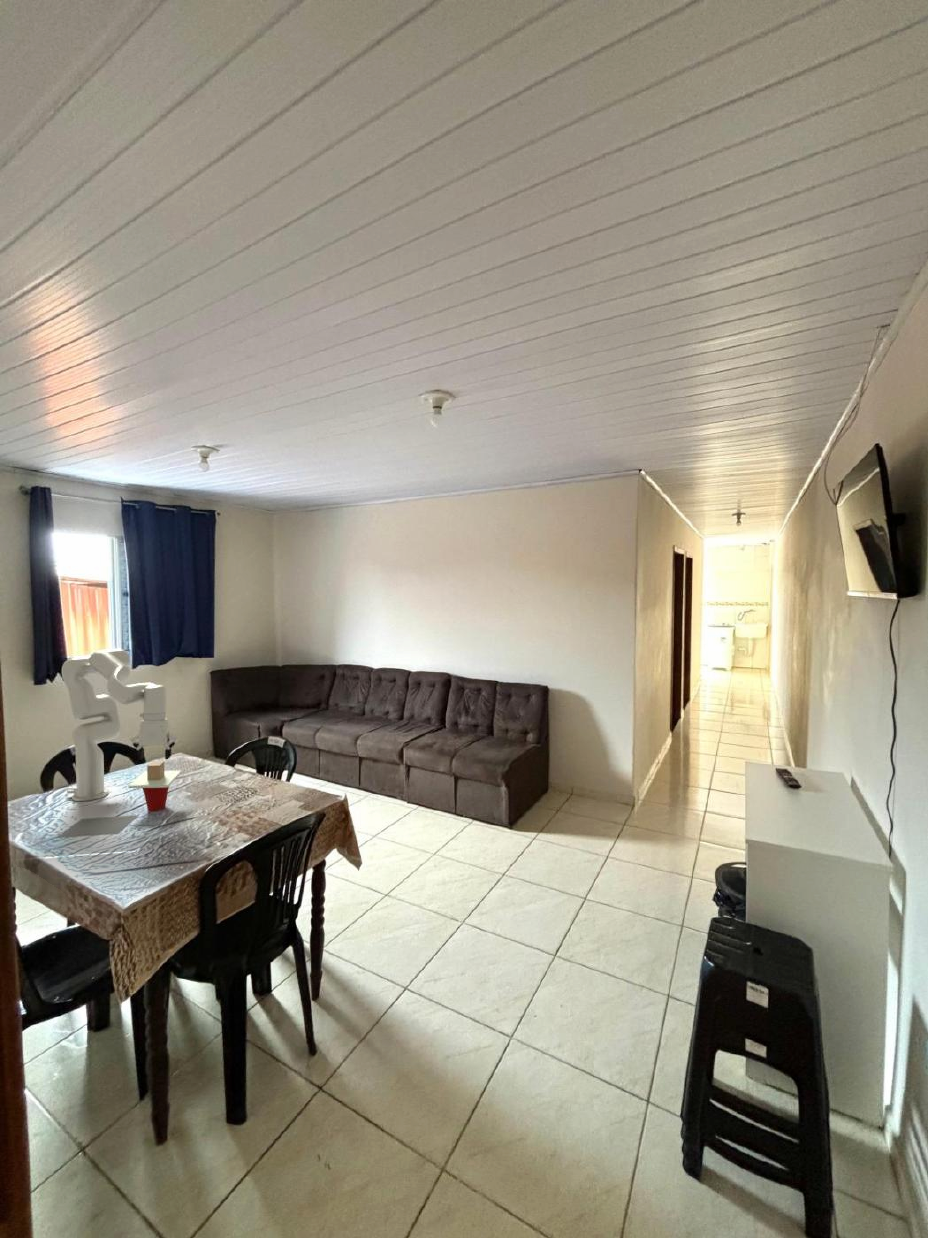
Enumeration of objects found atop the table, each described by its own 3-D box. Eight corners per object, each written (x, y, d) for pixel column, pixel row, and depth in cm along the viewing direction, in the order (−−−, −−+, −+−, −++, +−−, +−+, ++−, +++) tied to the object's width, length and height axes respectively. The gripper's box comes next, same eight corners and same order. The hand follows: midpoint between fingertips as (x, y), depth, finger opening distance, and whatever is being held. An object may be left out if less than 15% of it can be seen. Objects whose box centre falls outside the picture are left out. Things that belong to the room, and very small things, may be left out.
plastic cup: (141, 817, 198) (141, 787, 197) (140, 808, 207) (139, 779, 206) (173, 811, 204) (173, 781, 204) (170, 802, 213) (170, 773, 212)
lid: (128, 788, 197) (128, 770, 196) (144, 773, 211) (144, 757, 210) (167, 787, 199) (167, 770, 199) (181, 772, 213) (181, 756, 212)
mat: (55, 839, 180) (55, 837, 180) (81, 820, 196) (81, 818, 195) (118, 835, 183) (118, 833, 183) (138, 816, 199) (138, 815, 199)
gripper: (126, 718, 199) (126, 762, 200) (174, 718, 202) (174, 761, 203) (135, 714, 206) (135, 756, 207) (181, 714, 209) (181, 755, 210)
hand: (154, 758), depth 205 cm, fingers open, 9 cm apart
